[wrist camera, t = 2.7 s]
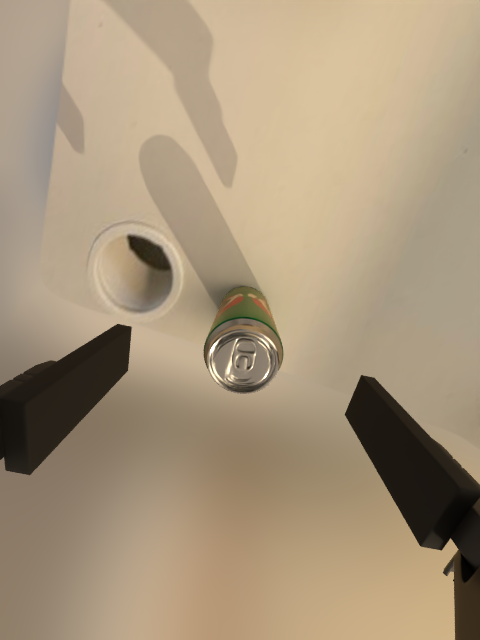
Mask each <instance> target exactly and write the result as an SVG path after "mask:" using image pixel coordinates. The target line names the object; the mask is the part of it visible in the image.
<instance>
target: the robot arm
mask: <svg viewBox="0 0 480 640" xmlns="http://www.w3.org/2000/svg"><path fill="white" fill-rule="evenodd" d="M130 340H131V327H130V326H125V325H120V324H117V325H115V326H114V327H112V328H110V329H109V330H107V331H105V332H104V333H102V334H101V335H99V336H97V337H96V338H94V339H93V340H91V341H89V342H88V343H86V344H85V345H83V346H81V347H80V348H78V349H77V350H75V351H73V352H72V353H70V354H68V355H67V356H65V357H64V358H62V359H60V360H59V361H57V362H56V361H48V362H45V363H41V364H38V365H36V366H34V367H32V368H31V369H29V370H27V371H25V372H24V373H23V374H20V375H18V376H16V377H15V378H14V379H13V380H9V381H8V382H6V383H4V384H2V385H1V386H0V460H1V459H2V458H3V457H4V459H5V469H6V471H11V472H16V473H22V474H27V475H30V474H31V473H32V472H33V471H34V470H35V469H36V468H37V467H38V466H39V465H40V464H41V463H42V462H43V461H44V459H46V457H47V456H48V455H49V454H50V453H51V452H52V451H53V450H54V449H55V448H56V447H57V446H58V445H59V443H60V442H61V441H62V440H63V439H64V438H65V437H66V436H67V435H68V434H69V433H70V432H71V431H72V430H73V429H74V427H75V426H76V425H77V424H78V423H79V422H80V421H81V420H82V419H83V418H84V417H85V416H86V415H87V414H88V413H89V412H90V410H91V409H92V408H93V407H94V406H95V405H96V404H97V403H98V402H99V401H100V400H101V399H102V398H103V397H104V396H105V395H106V393H107V392H108V391H109V390H110V389H111V388H112V387H113V386H114V385H115V384H116V383H117V382H118V381H119V380H120V379H121V377H122V376H123V375H124V374H125V373H126V372H127V371H128V364H129V351H130ZM345 416H346V418H347V419H348V421H349V423H350V425H351V426H352V428H353V430H354V431H355V433H356V435H357V437H358V439H359V440H360V442H361V444H362V446H363V447H364V449H365V451H366V452H367V454H368V456H369V458H370V459H371V461H372V463H373V464H374V466H375V468H376V470H377V472H378V473H379V475H380V477H381V479H382V480H383V482H384V484H385V486H386V487H387V489H388V491H389V492H390V494H391V496H392V498H393V500H394V501H395V503H396V505H397V506H398V508H399V510H400V511H401V513H402V515H403V517H404V519H405V520H406V522H407V524H408V526H409V527H410V529H411V531H412V533H413V534H414V536H415V538H416V540H417V541H418V543H419V545H420V546H421V547H427V548H432V549H437V550H442V549H443V548H444V546H445V545H446V544H447V542H448V541H449V539H450V538H451V539H452V540H453V542H454V543H455V545H456V546H457V548H458V549H459V550H458V551H457V553H456V554H455V555H454V556H453V558H452V559H451V560H450V562H449V563H448V564H447V566H446V567H445V569H444V572H443V573H444V574H445V575H446V576H447V575H448V574H449V573H450V572H454V580H453V581H454V599H455V640H480V485H479V484H478V483H477V481H476V480H474V478H473V477H472V476H471V475H470V474H469V473H468V472H467V471H466V470H465V469H464V468H462V467H461V465H460V464H459V463H458V462H457V461H456V460H455V459H453V457H452V456H451V455H450V454H449V453H448V451H447V450H446V449H445V448H444V447H442V445H440V444H439V443H438V442H436V441H435V440H433V439H432V438H431V437H430V436H429V435H428V434H427V433H426V432H425V431H424V430H423V429H422V428H421V427H420V425H419V424H418V423H417V422H416V421H415V420H414V419H413V418H412V417H411V416H410V415H409V414H408V413H407V412H406V411H405V410H404V409H403V408H402V407H401V405H400V404H399V403H398V402H397V401H396V400H395V399H394V398H393V397H392V396H391V395H390V394H389V393H388V392H387V391H386V390H385V389H384V388H383V387H382V386H381V384H380V383H379V382H378V381H377V380H376V379H375V378H372V377H368V376H363V375H361V377H360V379H359V382H358V384H357V387H356V389H355V391H354V394H353V396H352V399H351V401H350V403H349V406H348V408H347V411H346V413H345Z"/></svg>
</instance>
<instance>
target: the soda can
mask: <svg viewBox="0 0 480 640" xmlns="http://www.w3.org/2000/svg"><path fill="white" fill-rule="evenodd" d="M204 360H205V363H206V366H207V368H208V370H209V372H210V374H211V376H212V378H213V379H214V380H215V382H216V383H217V384H218V385H220V386H221V387H223V388H224V389H226V390H228V391H231V392H234V393H240V394H247V393H253V392H256V391H259V390H261V389H263V388H265V387H266V386H267V385H269V384H270V383H271V382H272V381H273V379H274V377H275V376H276V374H277V372H278V370H279V368H280V366H281V364H282V360H283V346H282V342H281V339H280V336H279V334H278V331H277V328H276V325H275V322H274V319H273V317H272V314H271V311H270V308H269V305H268V302H267V300H266V298H265V297H264V296H263V294H262V293H260V292H259V291H258V290H256V289H254V288H251V287H238V288H235V289H233V290H231V291H230V292H229V293H227V294H226V296H225V297H224V298H223V300H222V303H221V305H220V307H219V310H218V312H217V315H216V317H215V320H214V322H213V324H212V327H211V329H210V332H209V334H208V337H207V339H206V342H205V345H204Z"/></svg>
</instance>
